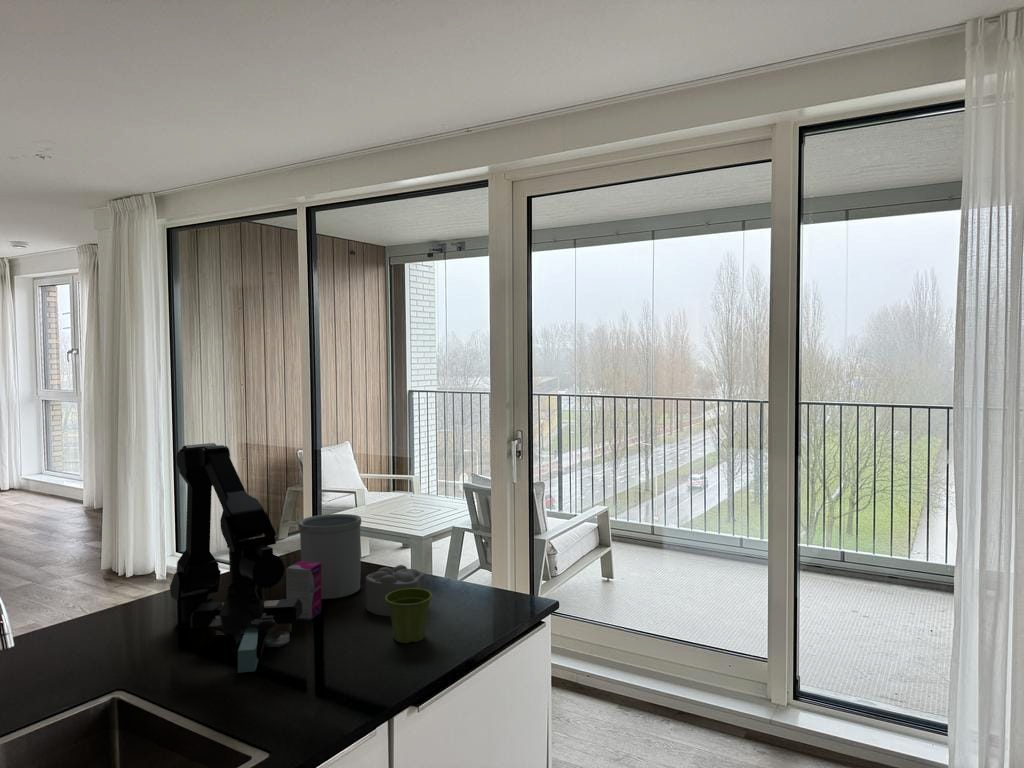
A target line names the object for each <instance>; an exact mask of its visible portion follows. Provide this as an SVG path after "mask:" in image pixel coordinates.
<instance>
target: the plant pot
mask: <svg viewBox="0 0 1024 768" xmlns="http://www.w3.org/2000/svg"><path fill="white" fill-rule="evenodd" d="M432 598H433V594H432V592H431V591H430V590H428V589H426V588H425V589H420V588H405V589H399V590H395V591H392V592H390V593H389V594H387V595H386V597H385V599H386V601H387V602H388V607H389V608H390V614H391V616H390V619H391V625H392V631H393V638H394V641H396V642H398V643H402V644H409V643H412V642H413V643H417V642H420V641H422V640H424V638H425V636H426V629H427V628H426V627H427V618H428V610H429V606H430V603H431V599H432Z"/></svg>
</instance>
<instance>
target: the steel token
mask: <svg viewBox="0 0 1024 768" xmlns="http://www.w3.org/2000/svg"><path fill="white" fill-rule="evenodd" d="M290 633H291V632H290ZM290 633H289V632H288V631H282V630H281V631H273V632H269V633H268V636H267V639H266V642H265V646H267V647H275V646H281V645H285V644H287V643H288V642H289V641H290V642H291V640H290V639H291V638H290ZM290 642H289V643H290ZM289 643H288V644H289ZM288 644H287V645H288ZM265 646H264V647H265ZM285 646H286V645H285ZM267 647H266V648H267Z"/></svg>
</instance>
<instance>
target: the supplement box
mask: <svg viewBox="0 0 1024 768" xmlns="http://www.w3.org/2000/svg"><path fill="white" fill-rule="evenodd" d="M285 572H286V574H285V575H286V579H285V580H286V581H285V582H286V583H285V585H286V598H285V599H299V600H300V601H301V602H302V613H301V615H300V617H299V618H298V620H300V622H311V621H312V619H314V618H315V617H317V616H318V615H319V614H321V613H322V612H323V611H322V610H323V609H322V608H323V607H322V604H323V603H322V599H321V563H317V562H302V561H301V560H299V561H297V562H295V563H293V564H292V565H290V566H288V567H287V568H286V571H285Z"/></svg>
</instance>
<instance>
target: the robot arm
mask: <svg viewBox="0 0 1024 768" xmlns="http://www.w3.org/2000/svg"><path fill="white" fill-rule="evenodd" d="M176 465H177V468H178V472H179V474H180V475H181V478H182V479H183V480H184V481H185V483H186V485H187V486H186V487H187V489H186V527H185V528H186V529H185V530H186V531H185V550H184V551H183V552H182V554H181V556H180V557H179V559H178V560H177V563H176V572H174V573H173V574H174V575H173V577H172V580H171V582H170V585H169V590H170V597H171V598H172V599H173V600H175V601H176V604H177V623H176V624H175V625H174V629H187V628H188V629H190V628H191V629H197V628H200V629H201V628H208V627H210V626H209V625H210V624H211V623H212V622H213V619H216V626H213V627H214V628H213V629H214V631H215V632H216V631H221V632H222V633H223V634H225V636H224V637H226V639H227V641H228V643H229V644H230V647H231V649H232V652H233V653H234V657H235V658H236V661H238V649H239V646H240V644H241V641H242V635H241V630H242V629H247V628H249V627H250V625H251V621H254V620H255V619H260V620H261V622H260V623H259V624H258V626H257V631H258V639H257V659H259V660H260V659H261V657H262V654H263V652H264V648H265V642H266V639H267V636H268V633H269V631H270V629H271V628H273V627H274V626H275V625H276V623H277V624H289V623H292V624H294V623H295V624H296V622H298V621H297V620H298V618H299V617H300V615H301V613H302V602H301V601H300V600H299V599H286V598H281V599H279V600H280V601H279V602H278V604H277V605H276V606H264V603H265V601H266V596H264V593H265V592H264V589H269V588H272V587H274V586H276V585H278V583H280V582H281V580H282V578H283V576H284V574H285V564H284V562H283V560H282V559H281V558H280V557H279V556H278V555H276V554H274V548H273V547H271V546H272V545H276V543H277V541H276V534H277V533H276V531H275V528H274V526H273V524H272V521H271V520H270V516H269V515H268V513H267V511H266V510H265V509H264V507H263V506H262V504H261V503H260V502H259V500H258V499H257V498H255V497H253V496H251V495H249V494H248V493H247V491H246V489H245V487H244V485H243V482H242V481H241V478H240V476H239V474H238V472H237V470H236V468H235V465H234V464H233V461H232V460H231V452H230V449H229V447H228V445H223V444H222V445H221V444H220V445H217V443H215V442H211V443H210V442H209V443H199V444H198V443H197V444H188V445H183V446H182V448H181V449H179V451H177V453H176ZM212 487H213V489H214V491H215V494H216V495H217V499H218V500H219V503H220V505H221V508H222V514H221V516H220V517H221V518H220V521H219V522H220V531H221V534H222V536H223V538H224V540H225V543H226V547H227V548H228V549H229V551H228V554H229V555H228V556H229V565H228V566H229V585H228V589H227V596H226V598H225V601H224V602H221V601H216V600H215V598H213V593H219V589H220V581H221V574H222V573H221V572H222V571H221V570H220V568H219V567H220V566H219V562H218V561H217V559H216V558H215V557H214V555H213V553H212V552H211V526H212V525H211V520H212V519H211V516H212V491H213V490H212ZM263 535H264V536H263ZM222 603H224V605H222ZM240 629H241V630H240Z"/></svg>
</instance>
